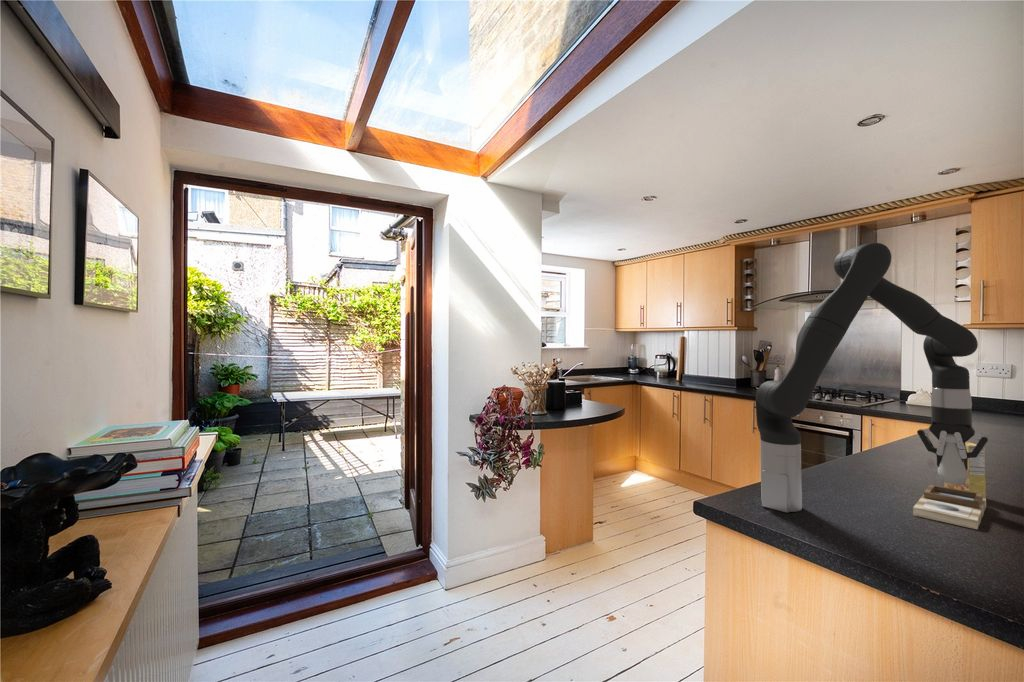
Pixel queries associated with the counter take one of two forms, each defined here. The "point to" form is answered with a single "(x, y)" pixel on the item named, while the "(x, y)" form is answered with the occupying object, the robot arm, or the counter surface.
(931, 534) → the counter surface
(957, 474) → the salt shaker
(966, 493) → the beige organizer tray
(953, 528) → the counter surface
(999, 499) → the counter surface
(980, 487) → the candy box
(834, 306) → the robot arm
